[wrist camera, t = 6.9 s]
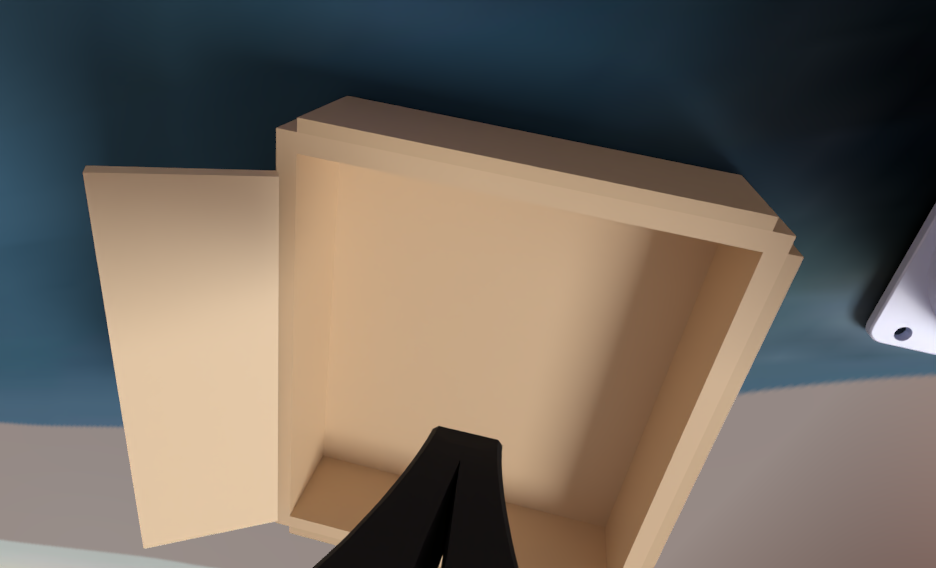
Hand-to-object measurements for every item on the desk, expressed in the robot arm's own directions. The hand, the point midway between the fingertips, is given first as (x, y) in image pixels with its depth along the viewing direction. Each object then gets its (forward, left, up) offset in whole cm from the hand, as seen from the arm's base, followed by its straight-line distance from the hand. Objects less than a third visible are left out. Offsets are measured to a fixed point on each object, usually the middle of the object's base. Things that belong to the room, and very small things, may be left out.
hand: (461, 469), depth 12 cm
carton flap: (+9, +4, -4) cm, 10 cm away
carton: (0, +4, -10) cm, 11 cm away
